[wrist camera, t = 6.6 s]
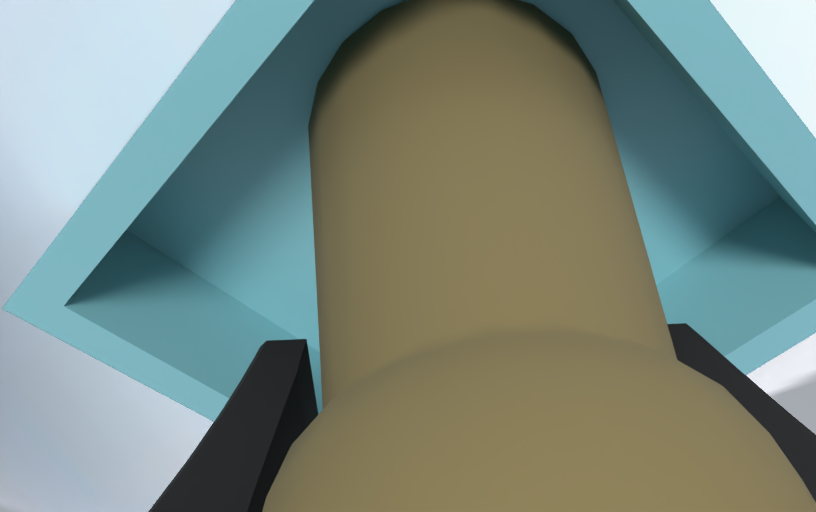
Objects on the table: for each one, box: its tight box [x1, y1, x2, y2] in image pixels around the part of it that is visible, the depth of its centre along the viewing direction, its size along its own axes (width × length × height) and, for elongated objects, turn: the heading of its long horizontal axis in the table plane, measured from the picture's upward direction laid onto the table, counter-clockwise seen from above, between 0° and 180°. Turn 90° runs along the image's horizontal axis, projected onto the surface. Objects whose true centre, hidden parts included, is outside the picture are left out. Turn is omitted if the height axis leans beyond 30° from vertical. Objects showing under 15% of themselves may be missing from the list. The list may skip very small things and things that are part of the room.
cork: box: [262, 0, 816, 512], centre depth 9 cm, size 6×6×11 cm
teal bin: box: [2, 0, 816, 421], centre depth 14 cm, size 12×12×4 cm
